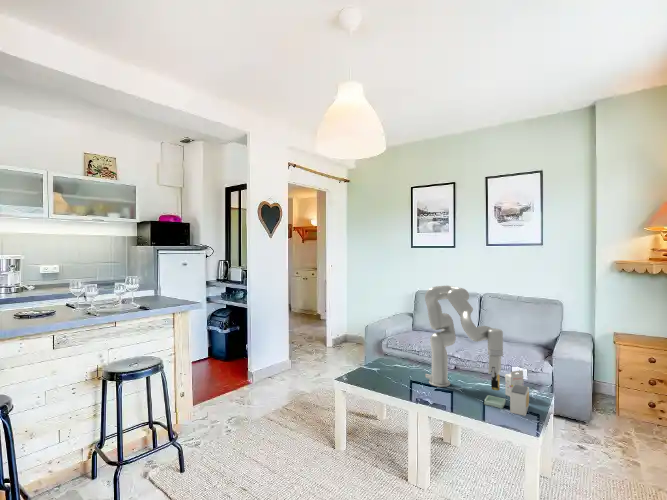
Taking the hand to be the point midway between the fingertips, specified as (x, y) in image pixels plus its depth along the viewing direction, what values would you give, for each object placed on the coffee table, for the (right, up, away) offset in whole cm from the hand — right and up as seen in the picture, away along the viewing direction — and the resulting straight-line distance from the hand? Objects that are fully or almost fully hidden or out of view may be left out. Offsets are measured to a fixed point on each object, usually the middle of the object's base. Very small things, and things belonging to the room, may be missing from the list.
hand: (495, 385), depth 196 cm
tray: (0, -10, 0) cm, 10 cm away
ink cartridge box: (+16, -10, +11) cm, 22 cm away
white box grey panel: (+10, -10, -6) cm, 15 cm away
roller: (0, -2, 0) cm, 2 cm away
